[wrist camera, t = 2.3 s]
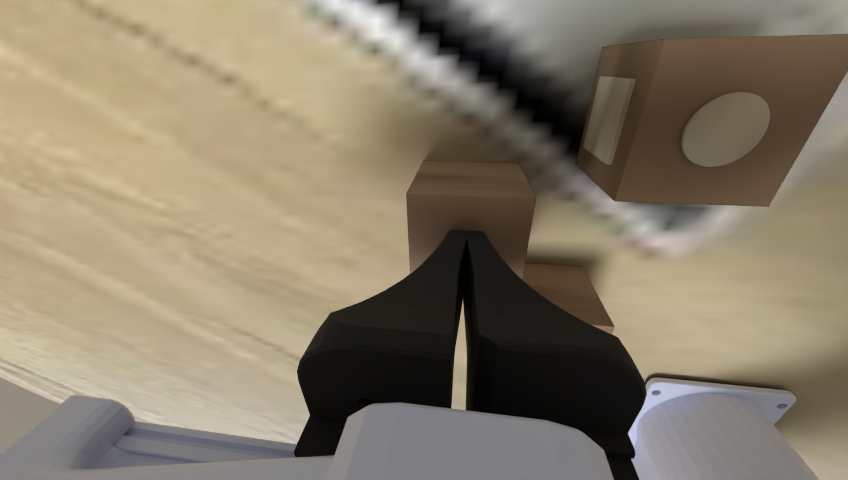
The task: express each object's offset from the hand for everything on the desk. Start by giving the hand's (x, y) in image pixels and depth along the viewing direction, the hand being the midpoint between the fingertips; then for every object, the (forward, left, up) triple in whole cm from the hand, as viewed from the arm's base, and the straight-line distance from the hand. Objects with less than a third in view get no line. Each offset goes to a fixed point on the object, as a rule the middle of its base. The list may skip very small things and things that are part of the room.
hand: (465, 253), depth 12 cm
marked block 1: (+4, -7, -5) cm, 10 cm away
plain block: (0, 0, -5) cm, 5 cm away
